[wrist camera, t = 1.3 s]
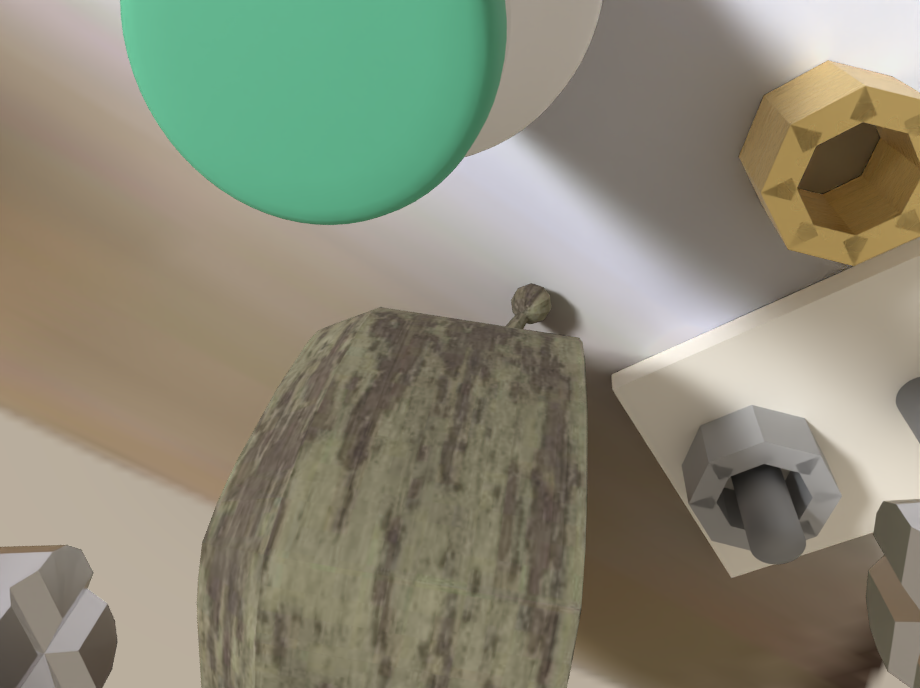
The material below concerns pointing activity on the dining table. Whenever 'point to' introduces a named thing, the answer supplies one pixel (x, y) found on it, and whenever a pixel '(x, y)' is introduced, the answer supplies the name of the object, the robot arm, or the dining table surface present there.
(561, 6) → the milk bottle
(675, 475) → the gear board
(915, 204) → the brass gear
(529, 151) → the dining table surface
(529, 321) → the tabletop clock
